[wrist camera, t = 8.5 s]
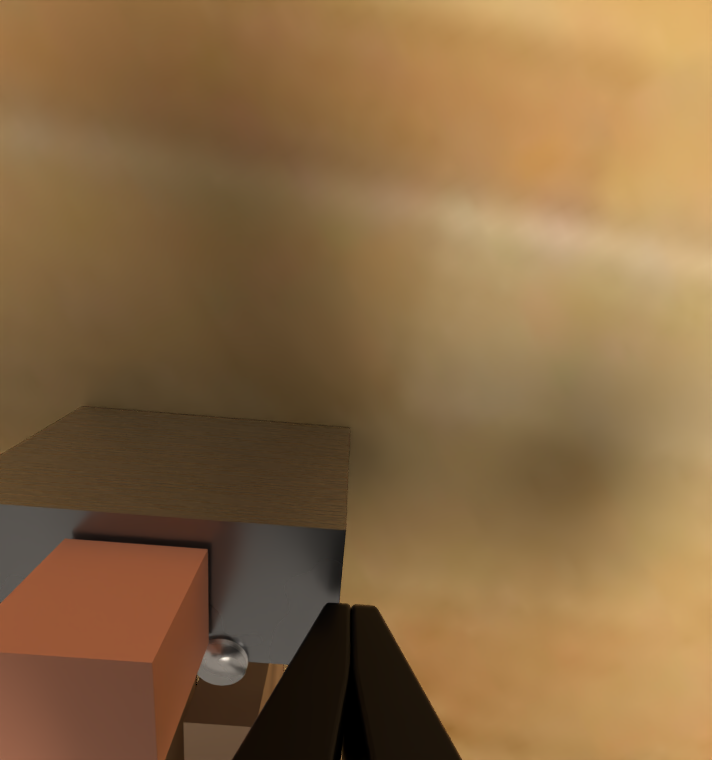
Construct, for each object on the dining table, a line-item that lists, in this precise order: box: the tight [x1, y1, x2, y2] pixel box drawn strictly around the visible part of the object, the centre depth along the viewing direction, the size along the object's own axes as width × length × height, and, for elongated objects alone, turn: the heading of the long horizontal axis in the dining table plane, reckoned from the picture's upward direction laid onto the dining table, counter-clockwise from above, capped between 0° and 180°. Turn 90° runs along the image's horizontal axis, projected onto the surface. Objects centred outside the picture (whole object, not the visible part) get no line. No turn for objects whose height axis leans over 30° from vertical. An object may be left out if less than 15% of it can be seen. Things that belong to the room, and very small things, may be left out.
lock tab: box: [0, 539, 209, 760], centre depth 7 cm, size 2×2×2 cm
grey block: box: [0, 407, 350, 686], centre depth 10 cm, size 7×4×5 cm, turn 85°
